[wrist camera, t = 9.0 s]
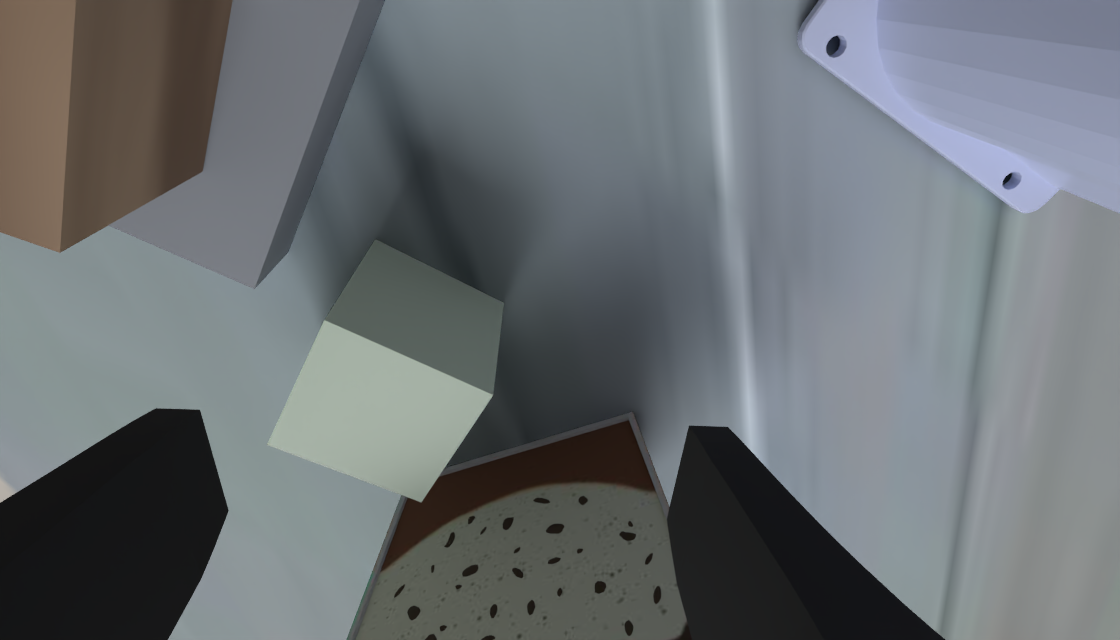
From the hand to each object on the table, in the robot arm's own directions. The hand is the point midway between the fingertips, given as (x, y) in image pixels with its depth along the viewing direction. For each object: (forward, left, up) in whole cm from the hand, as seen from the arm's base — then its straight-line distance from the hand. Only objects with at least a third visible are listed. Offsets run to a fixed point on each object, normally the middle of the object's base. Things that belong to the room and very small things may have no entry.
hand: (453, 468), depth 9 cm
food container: (-7, +10, -11) cm, 16 cm away
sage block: (+1, +5, -11) cm, 12 cm away
